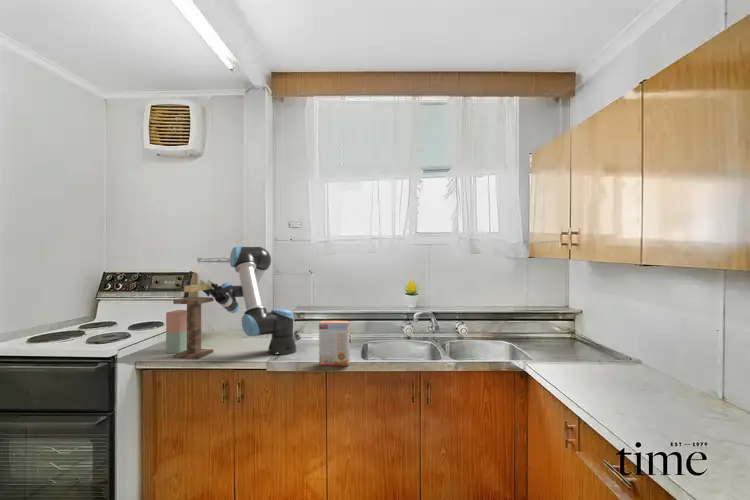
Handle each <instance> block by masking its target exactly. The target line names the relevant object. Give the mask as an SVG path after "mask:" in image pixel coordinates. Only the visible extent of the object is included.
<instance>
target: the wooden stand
mask: <svg viewBox="0 0 750 500" xmlns="http://www.w3.org/2000/svg"><path fill="white" fill-rule="evenodd" d="M214 301H215V298H214V297H213V296H212V297H210V296H207V297H203V296H201V297H200V296H199V297H198V296H195V297H194V296H189V297H184V298H177V299H173V302H172V303H173V305H186V310H187V350H185V351H183V352H180V353H174V354H173V355H172V356H173V359H187V358H188V359H189V360H199V359H201V358H204V357H206V356H208V355H210V354H212V353H214V349H212V348H211V349H207V348H202V305H203V304H207V303H211V302H214ZM188 359H187V360H188Z"/></svg>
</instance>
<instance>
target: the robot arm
mask: <svg viewBox="0 0 750 500" xmlns="http://www.w3.org/2000/svg"><path fill="white" fill-rule="evenodd" d="M271 262H272V257H271V254H270V253H269V251H268V250H267V249H266V248H264V247H261V246H235V247H233V248H232V249H231V252H230V256H229V265H230V267H231V268H234V269H235V272H236V273H238V276H239V280H240V285H233V283H232V282H229V281H227V282H226V281H225V282H223V283H222V284H221V285H218V283H215V284H213V283H214V282H212V281H211V280H210V279H207V282H205V281H204V280H202V279H200V280H199V282H198V284H205V283H207V285H208V286H209V287H210V288H212V289H207V290H201V291H202V292H203V293H205V294H206V296H207V297H210V296H212V297H214V301H215V302H216V303H218V304H219V305H220V306H221V307H223V308H224V309H225V310H226V311H227V312H229V313H230V314H235V313H237V312H238V311H239V310H240V304H239V303H238V301H237V299H236V298H242V297H243V300H244V305H245V311H244V312H243V315H242V317H241V327H242V330H243V332H244V334H245V335H246V336H248V337H258V336H259V337H260V336H266V335H271V339H270V342H269V346H268V351H267V352H268V354H270V355H274V354H275V353H277V352H278V353H279V354H280V355H279V356H282V355H290V354H294V353H296V352H297V344H296V342H295V338H294V313H293V311H292V310H290V309H283V308H281V309H280V308H272V309H271V310H270V312H268V310H267V308H266V307H265V306H263V301H262V297H261V294H260V288H259V282H260V280H261V278H262V277H263V275H264V273H265V271H267V270H268V269H269V268H270V266H271Z"/></svg>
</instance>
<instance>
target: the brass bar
mask: <svg viewBox="0 0 750 500" xmlns="http://www.w3.org/2000/svg"><path fill="white" fill-rule="evenodd" d="M212 283H213V284H216V282H212ZM207 289H212V288H210V287H209V286H208V285H207V282H205V284H199V283H198V284H197V283H196V284H191V285H184V289H183V290H184V293H194V292H201V291H202V290H207Z"/></svg>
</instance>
